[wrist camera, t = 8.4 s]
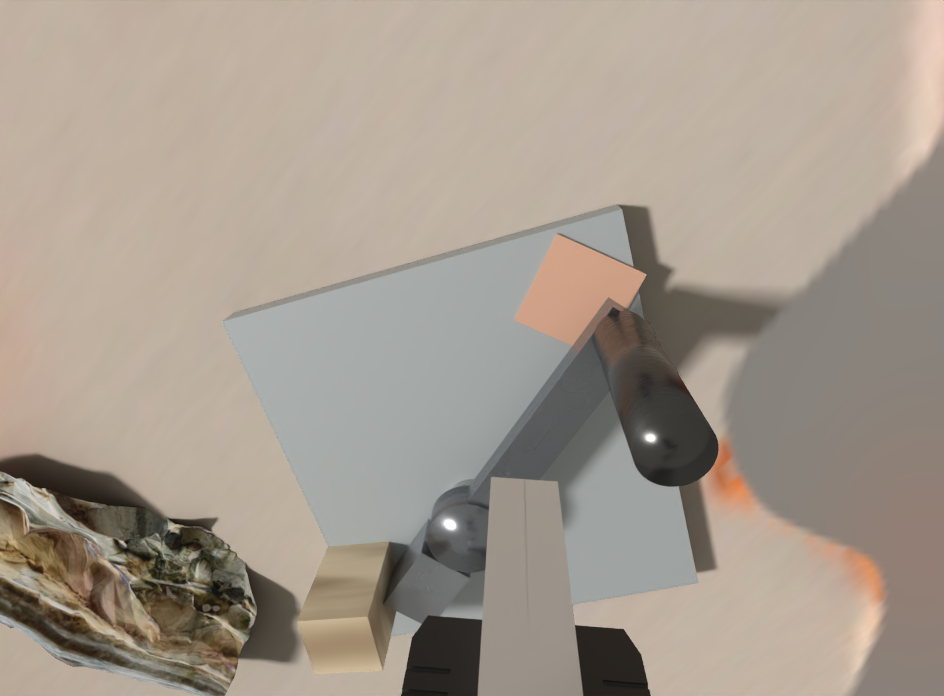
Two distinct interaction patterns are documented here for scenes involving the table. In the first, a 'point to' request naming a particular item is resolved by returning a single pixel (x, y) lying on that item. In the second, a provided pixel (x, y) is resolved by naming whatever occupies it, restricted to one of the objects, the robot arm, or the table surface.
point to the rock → (122, 589)
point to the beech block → (349, 610)
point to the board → (452, 409)
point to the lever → (546, 435)
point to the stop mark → (575, 289)
